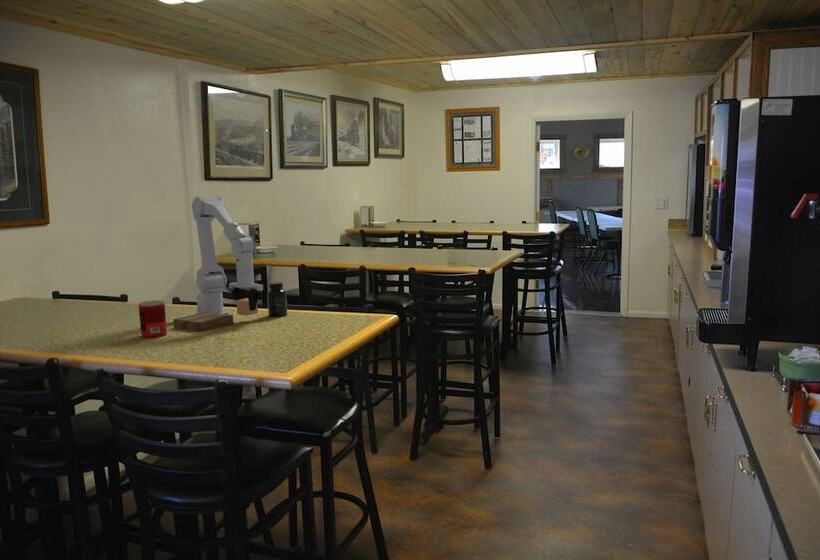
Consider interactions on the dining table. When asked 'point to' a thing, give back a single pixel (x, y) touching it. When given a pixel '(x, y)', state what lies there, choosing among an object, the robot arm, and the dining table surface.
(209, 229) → the robot arm
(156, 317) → the canned food
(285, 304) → the supplement bottle
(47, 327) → the dining table surface
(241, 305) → the terracotta cube
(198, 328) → the walnut base
